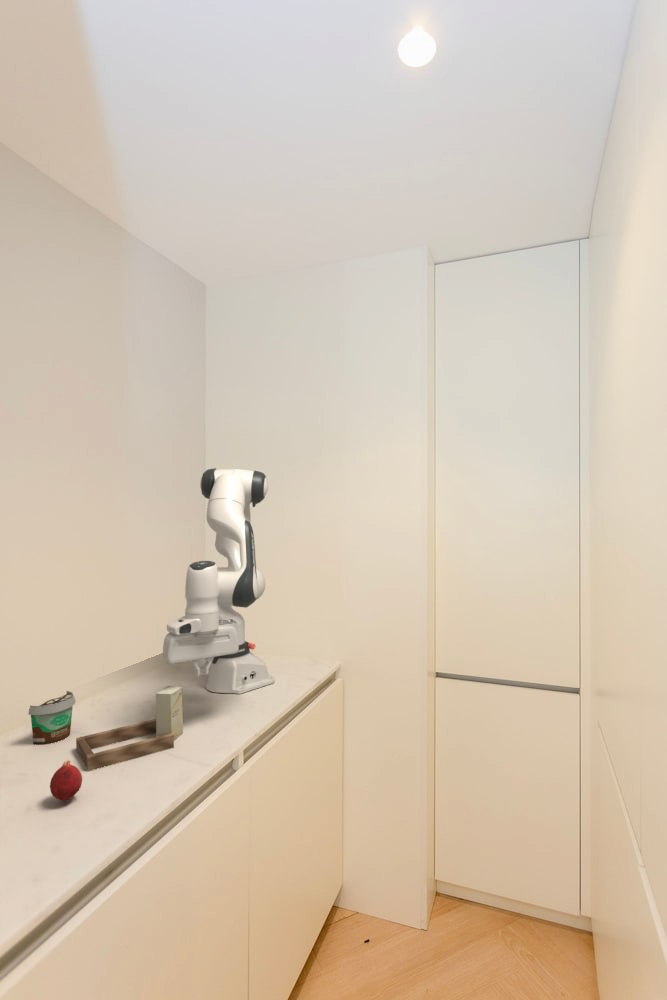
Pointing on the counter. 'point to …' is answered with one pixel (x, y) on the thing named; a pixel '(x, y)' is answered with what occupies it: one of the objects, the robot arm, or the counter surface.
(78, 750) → the u rest
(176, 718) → the skincare box
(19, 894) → the counter surface
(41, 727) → the food container
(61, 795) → the red pomegranate
